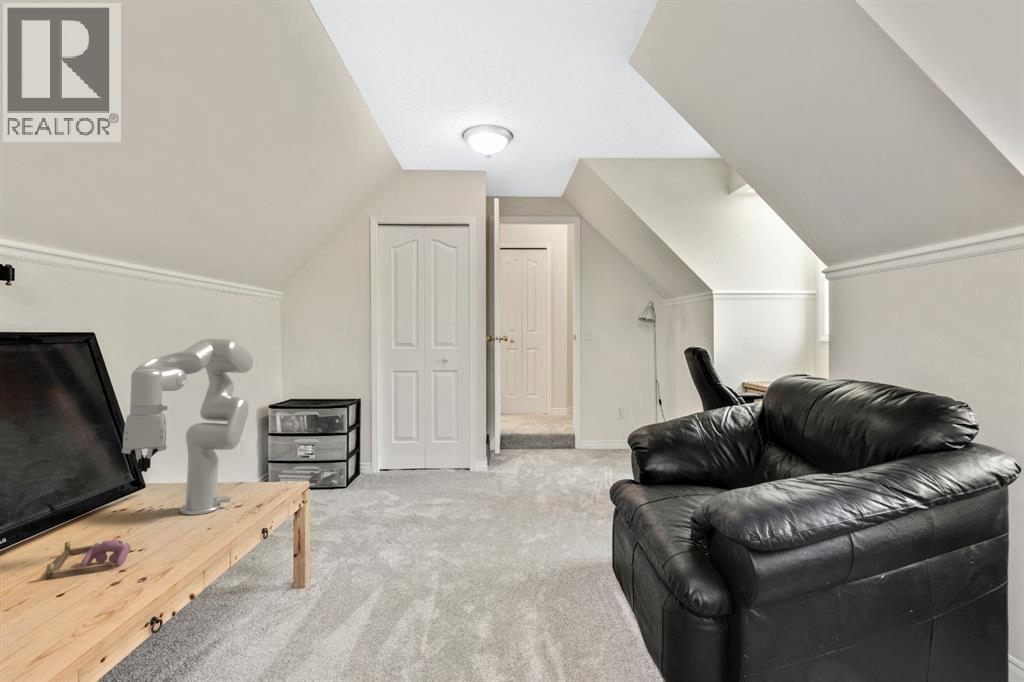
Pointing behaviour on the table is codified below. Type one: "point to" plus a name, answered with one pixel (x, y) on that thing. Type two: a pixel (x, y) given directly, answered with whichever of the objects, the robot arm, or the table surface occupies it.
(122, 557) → the video game controller
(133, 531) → the table surface
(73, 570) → the frame
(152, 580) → the table surface
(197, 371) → the robot arm
